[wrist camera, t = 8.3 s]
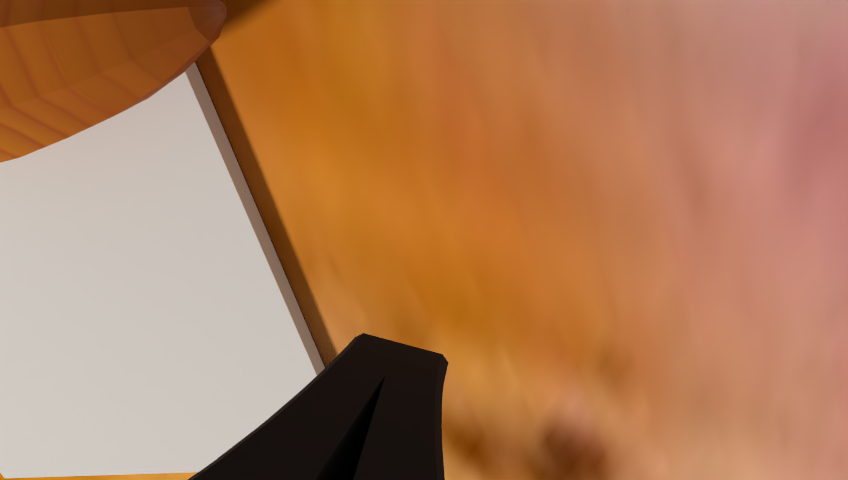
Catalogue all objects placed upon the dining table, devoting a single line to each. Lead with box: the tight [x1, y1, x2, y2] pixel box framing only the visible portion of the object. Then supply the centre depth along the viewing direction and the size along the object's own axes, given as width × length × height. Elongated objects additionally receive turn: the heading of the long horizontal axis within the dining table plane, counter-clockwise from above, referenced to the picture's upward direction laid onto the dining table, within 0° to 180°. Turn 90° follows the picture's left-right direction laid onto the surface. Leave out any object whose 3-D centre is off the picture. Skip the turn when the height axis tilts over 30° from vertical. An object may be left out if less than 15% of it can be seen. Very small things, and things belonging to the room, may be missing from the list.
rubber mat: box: [0, 62, 325, 478], centre depth 22 cm, size 17×20×1 cm
